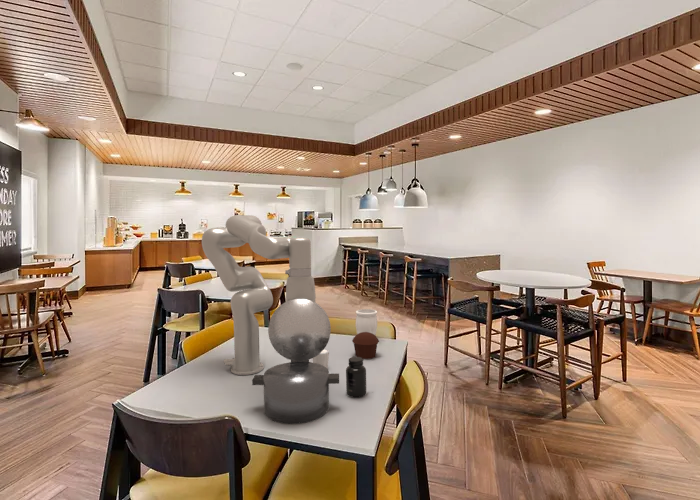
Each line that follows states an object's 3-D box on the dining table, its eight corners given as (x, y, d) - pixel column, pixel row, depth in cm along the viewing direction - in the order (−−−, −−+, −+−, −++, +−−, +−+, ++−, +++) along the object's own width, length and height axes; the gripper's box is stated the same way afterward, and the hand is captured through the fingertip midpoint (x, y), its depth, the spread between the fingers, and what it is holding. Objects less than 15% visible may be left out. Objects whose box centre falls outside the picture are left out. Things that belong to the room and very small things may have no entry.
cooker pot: (246, 424, 109) (245, 387, 108) (260, 394, 129) (260, 362, 128) (339, 422, 110) (339, 385, 109) (339, 392, 130) (338, 360, 129)
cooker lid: (267, 299, 129) (269, 298, 132) (268, 364, 129) (270, 361, 132) (330, 298, 129) (330, 297, 133) (330, 363, 129) (331, 360, 133)
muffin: (379, 351, 172) (379, 330, 171) (378, 360, 161) (378, 337, 160) (353, 351, 173) (353, 329, 172) (350, 359, 162) (350, 336, 161)
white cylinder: (326, 372, 148) (326, 354, 148) (309, 370, 150) (309, 353, 149) (331, 365, 155) (331, 348, 155) (314, 364, 156) (314, 347, 156)
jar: (376, 338, 193) (376, 308, 192) (378, 344, 183) (378, 313, 182) (355, 338, 193) (355, 309, 192) (356, 344, 183) (356, 313, 182)
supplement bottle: (354, 387, 134) (354, 354, 133) (370, 393, 129) (370, 358, 129) (341, 394, 128) (341, 359, 128) (357, 400, 124) (357, 364, 123)
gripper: (277, 274, 129) (278, 328, 130) (321, 274, 130) (322, 327, 131) (280, 272, 137) (281, 323, 138) (322, 271, 137) (323, 322, 138)
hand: (301, 325), depth 134 cm, fingers closed
